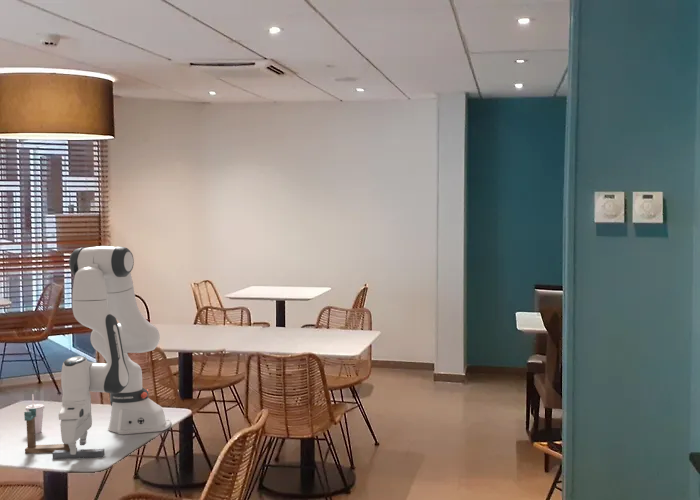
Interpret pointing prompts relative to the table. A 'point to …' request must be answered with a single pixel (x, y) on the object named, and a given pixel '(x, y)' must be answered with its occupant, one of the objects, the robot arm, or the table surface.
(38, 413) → the smoothie
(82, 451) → the rail
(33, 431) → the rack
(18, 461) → the table surface
